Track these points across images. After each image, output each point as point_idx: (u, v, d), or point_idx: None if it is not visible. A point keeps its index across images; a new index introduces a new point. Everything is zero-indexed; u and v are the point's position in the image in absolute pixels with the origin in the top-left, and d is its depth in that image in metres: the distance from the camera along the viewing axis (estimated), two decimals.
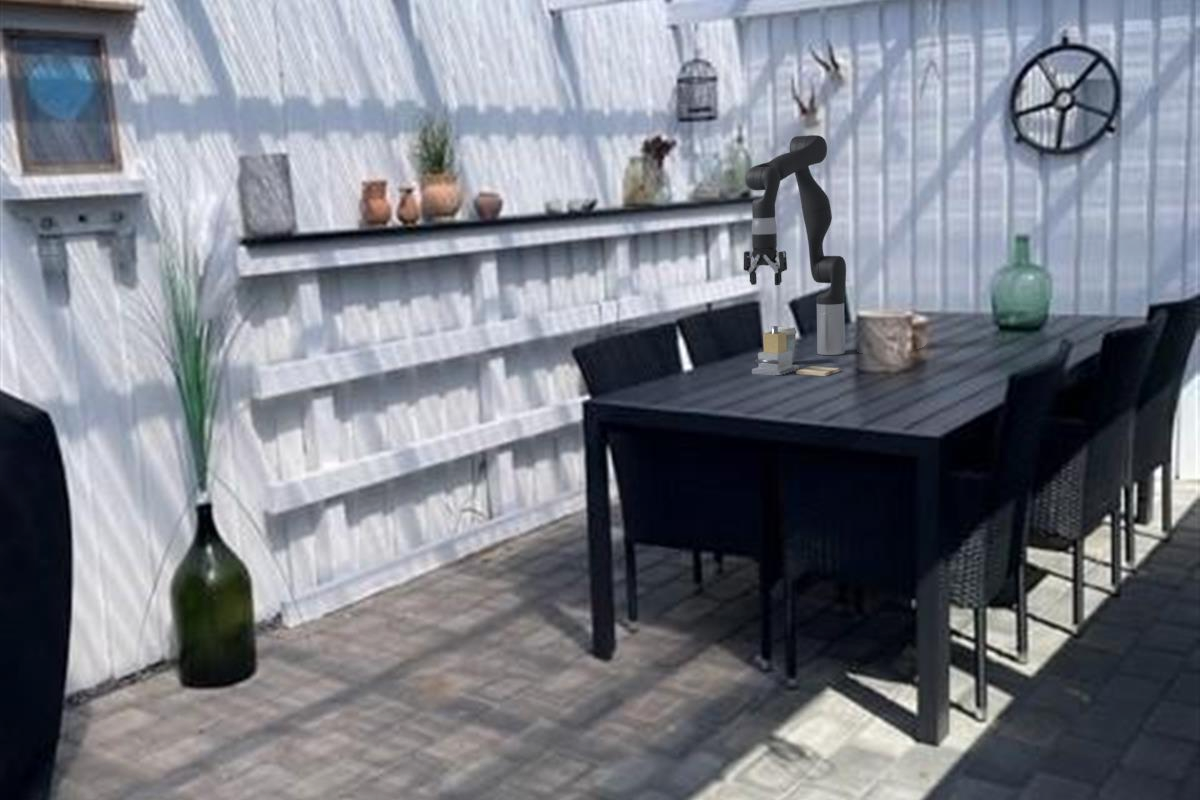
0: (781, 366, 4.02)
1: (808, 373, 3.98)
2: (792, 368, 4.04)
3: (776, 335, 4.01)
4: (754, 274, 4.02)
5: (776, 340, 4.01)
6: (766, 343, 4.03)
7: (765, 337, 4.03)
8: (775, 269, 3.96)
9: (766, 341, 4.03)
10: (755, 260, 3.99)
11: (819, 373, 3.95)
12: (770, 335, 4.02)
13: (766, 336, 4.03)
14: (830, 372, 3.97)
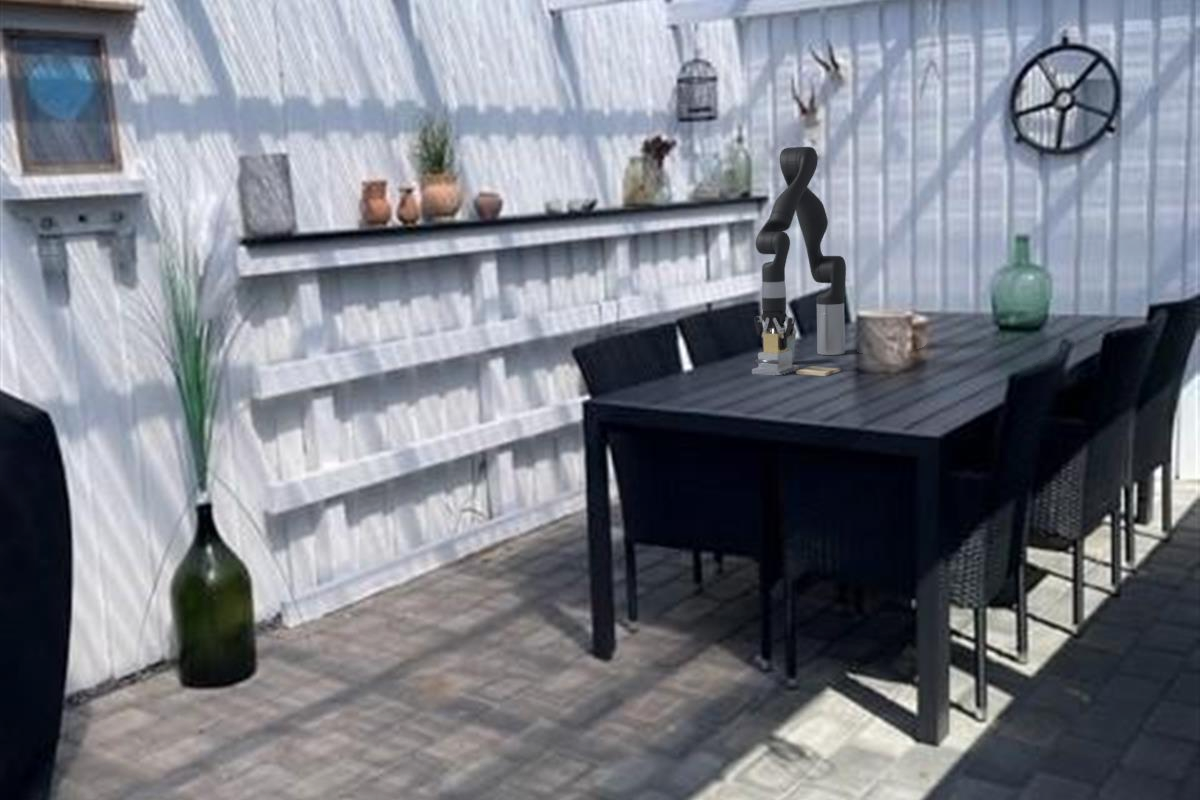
0: (781, 366, 4.02)
1: (808, 373, 3.98)
2: (792, 368, 4.04)
3: (776, 335, 4.01)
4: None
5: (776, 340, 4.01)
6: (766, 343, 4.03)
7: (765, 337, 4.03)
8: (781, 334, 4.01)
9: (766, 341, 4.03)
10: (766, 324, 4.03)
11: (819, 373, 3.95)
12: (770, 335, 4.02)
13: (766, 336, 4.03)
14: (830, 372, 3.97)
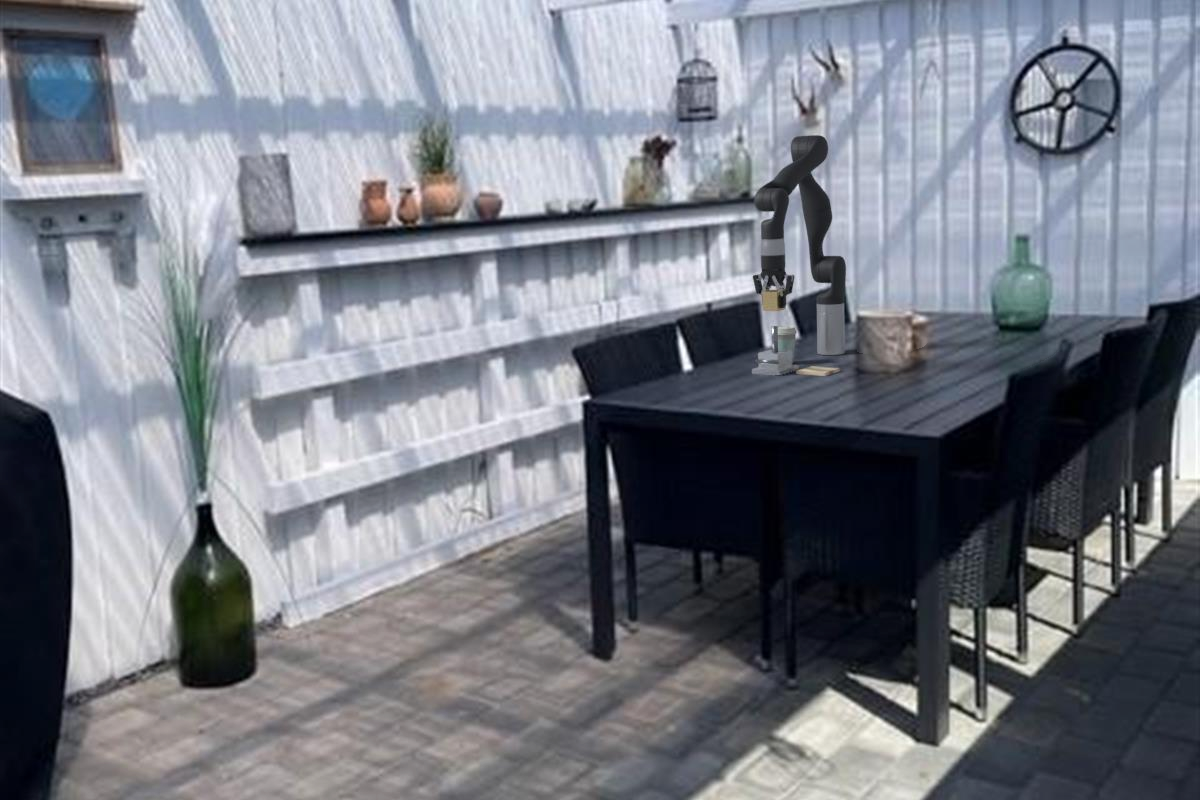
0: (781, 366, 4.02)
1: (808, 373, 3.98)
2: (792, 368, 4.04)
3: (775, 293, 3.98)
4: None
5: (775, 298, 3.99)
6: (765, 301, 4.01)
7: (764, 295, 4.01)
8: (780, 292, 3.99)
9: (766, 300, 4.01)
10: (765, 282, 4.01)
11: (819, 373, 3.95)
12: (769, 293, 4.00)
13: (765, 294, 4.01)
14: (830, 372, 3.97)
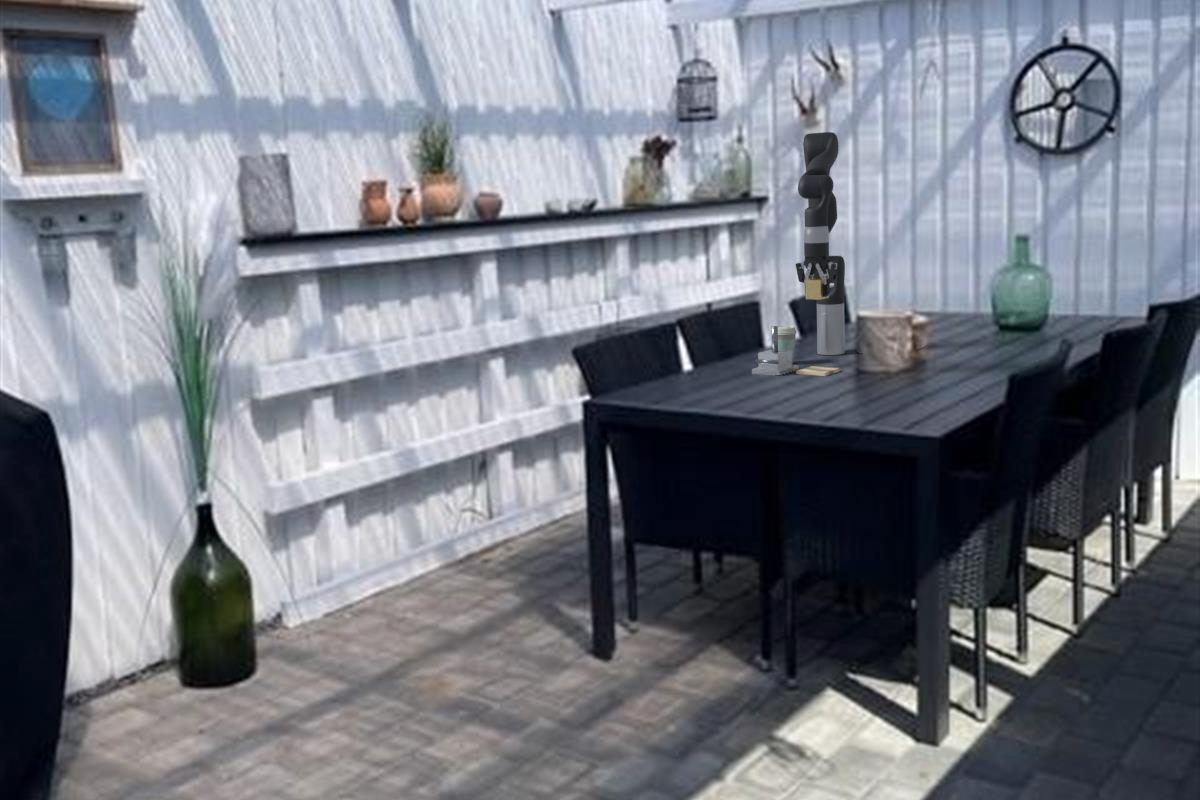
0: (781, 366, 4.02)
1: (808, 373, 3.98)
2: (792, 368, 4.04)
3: (819, 281, 3.93)
4: None
5: (819, 286, 3.93)
6: (808, 290, 3.96)
7: (807, 283, 3.95)
8: (823, 280, 3.93)
9: (809, 288, 3.95)
10: (808, 270, 3.96)
11: (819, 373, 3.95)
12: (812, 281, 3.94)
13: (808, 283, 3.95)
14: (830, 372, 3.97)
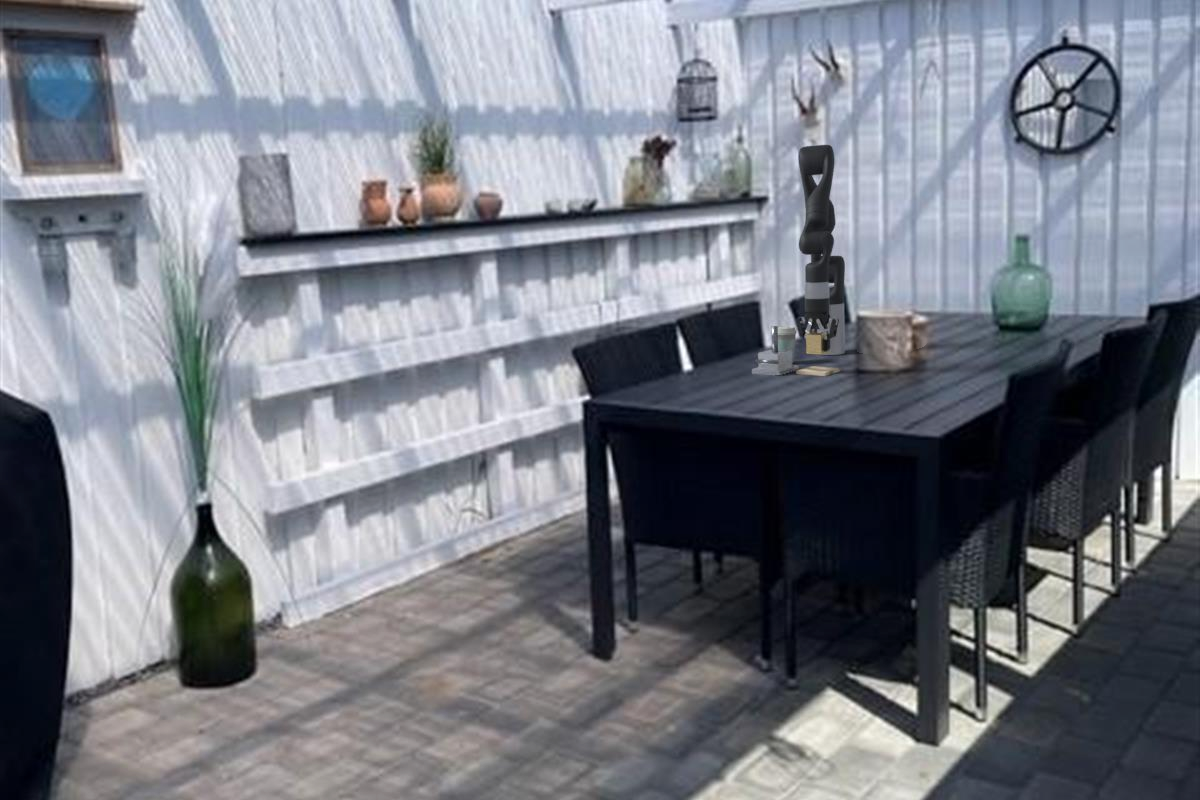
0: (781, 366, 4.02)
1: (808, 373, 3.98)
2: (792, 368, 4.04)
3: (819, 336, 3.96)
4: None
5: (819, 341, 3.96)
6: (809, 344, 3.98)
7: (808, 338, 3.98)
8: (824, 336, 3.96)
9: (809, 343, 3.98)
10: (809, 325, 3.98)
11: (819, 373, 3.95)
12: (813, 336, 3.97)
13: (809, 337, 3.98)
14: (830, 372, 3.97)
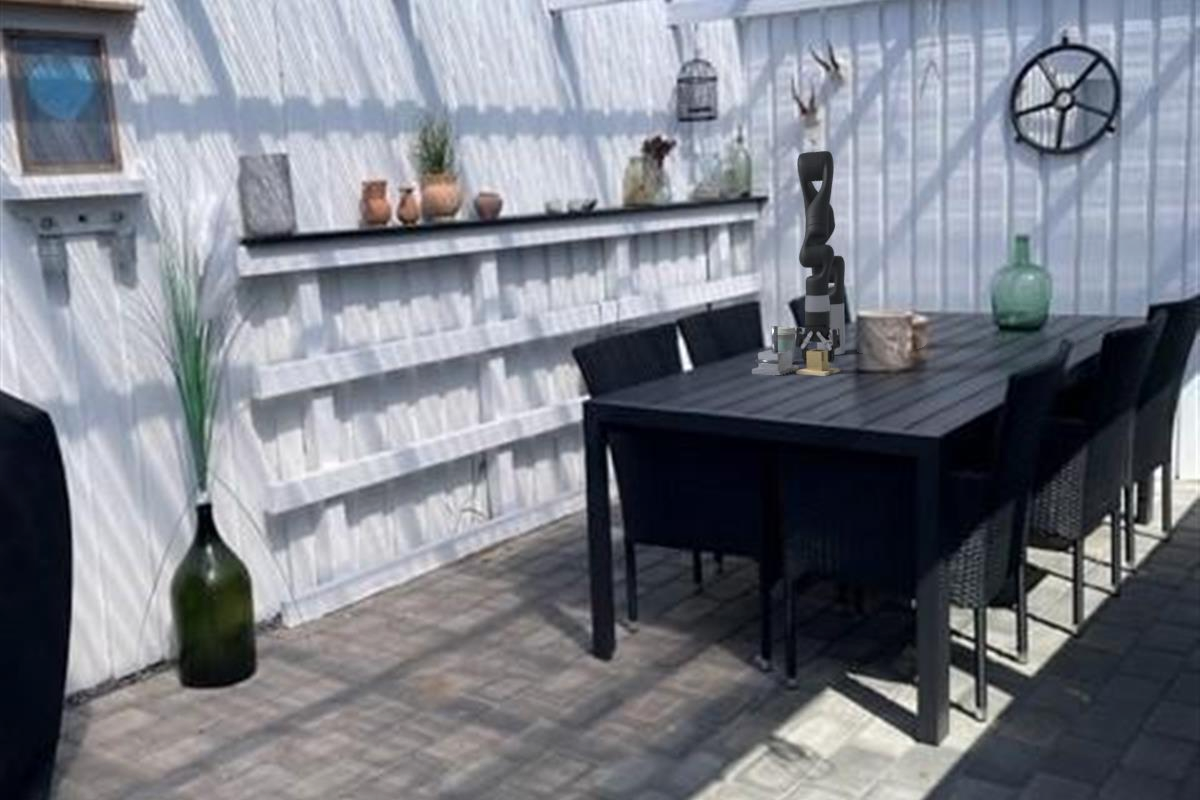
0: (781, 366, 4.02)
1: (808, 373, 3.98)
2: (792, 368, 4.04)
3: (820, 353, 3.97)
4: (806, 350, 4.02)
5: (820, 358, 3.97)
6: (809, 361, 3.99)
7: (808, 355, 3.99)
8: (828, 346, 3.96)
9: (810, 359, 3.99)
10: (808, 337, 3.99)
11: (819, 373, 3.95)
12: (813, 353, 3.98)
13: (809, 354, 3.99)
14: (830, 372, 3.97)
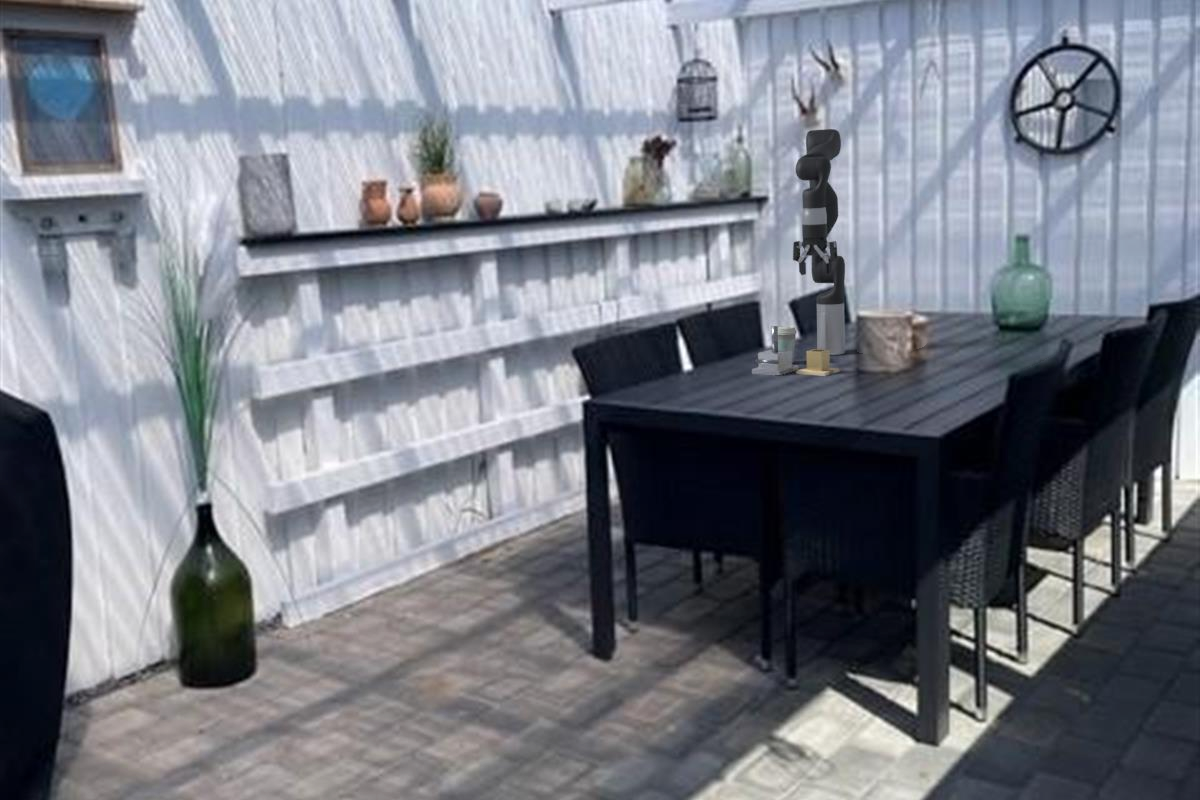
0: (781, 366, 4.02)
1: (808, 373, 3.98)
2: (792, 368, 4.04)
3: (820, 353, 3.97)
4: (804, 264, 4.02)
5: (820, 358, 3.97)
6: (809, 361, 3.99)
7: (808, 355, 3.99)
8: (826, 259, 3.96)
9: (810, 359, 3.99)
10: (805, 250, 3.99)
11: (819, 373, 3.95)
12: (813, 353, 3.98)
13: (809, 354, 3.99)
14: (830, 372, 3.97)
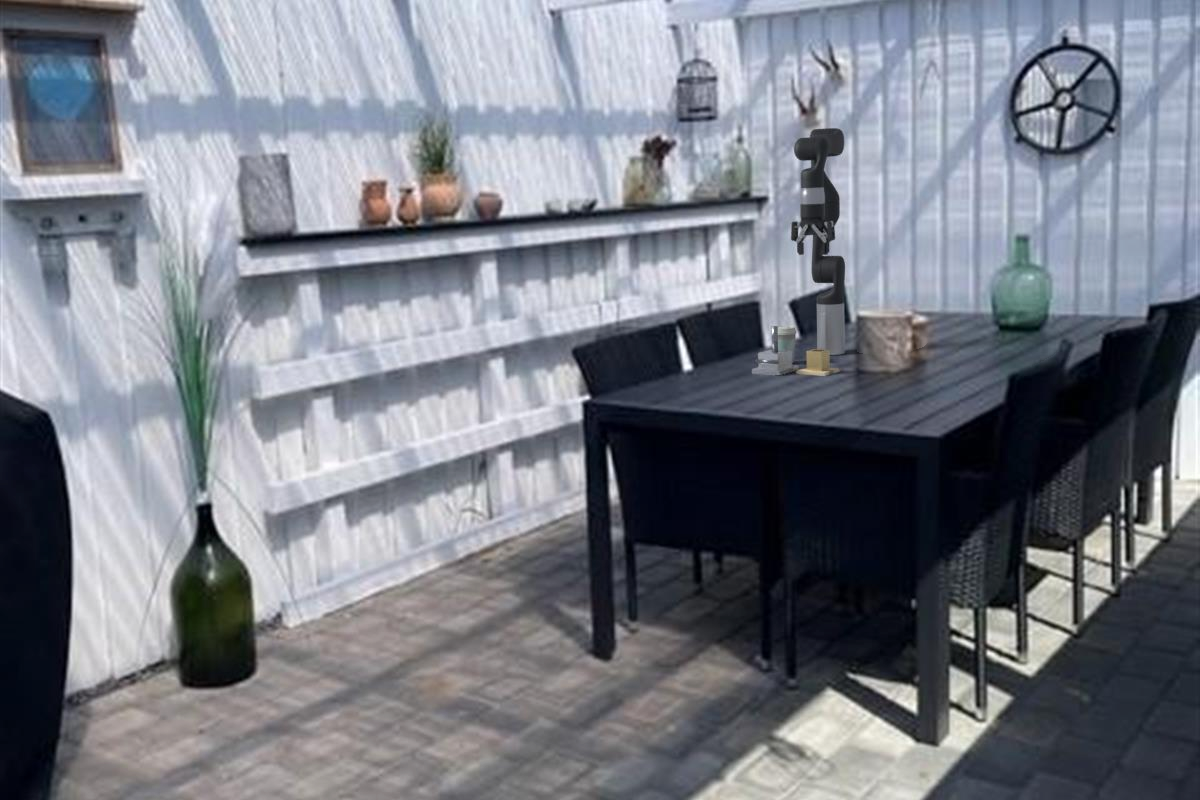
0: (781, 366, 4.02)
1: (808, 373, 3.98)
2: (792, 368, 4.04)
3: (820, 353, 3.97)
4: (802, 244, 4.05)
5: (820, 358, 3.97)
6: (809, 361, 3.99)
7: (808, 355, 3.99)
8: (823, 239, 3.99)
9: (810, 359, 3.99)
10: (803, 230, 4.02)
11: (819, 373, 3.95)
12: (813, 353, 3.98)
13: (809, 354, 3.99)
14: (830, 372, 3.97)
